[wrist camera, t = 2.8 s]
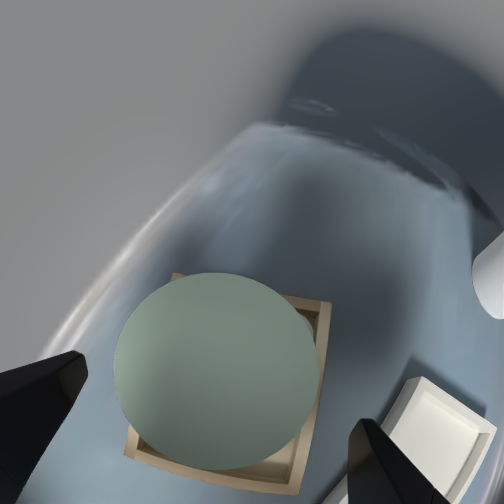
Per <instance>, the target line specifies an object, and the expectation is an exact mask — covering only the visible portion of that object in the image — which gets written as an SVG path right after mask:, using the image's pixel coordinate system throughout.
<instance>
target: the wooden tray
mask: <svg viewBox="0 0 504 504" xmlns="http://www.w3.org/2000/svg"><path fill="white" fill-rule="evenodd" d="M186 276H189V275H184V274H180V273H175V272H173V274H172V277H171V280H170V282H172V281H174V280H176V279H179V278H182V277H186ZM278 294H279V293H278ZM279 295H281V296H282V297H283V298H284V299H286V300H287V301H288V302H289V303H290V304H291V305H292V306H293V307H294V308H295V310H296V311H297V312H298V313H299V314H301V315H303V316H304V317H305V318H306V319H307V320H308V321H309V323H310V324H311V327H312V329H313V341H314V343H315V347H316V351H317V355H318V362H319V385H318V391H317V396H316V399H315V402H314V406H313V408H312V410H311V413H310V415H309V417H308V419H307V421H306V422H305V424H304V425H303V427H302V428H301V430H300V431H299V432H298V433H297V435H296V436H295V437H294V438H293V439H292V440H291V441H290V442H289V443H288V444H287V445H286V446H284V447H283V448H282V449H281V450H280V451H278V452H276V453H275V454H273V455H272V456H270V457H268V458H266V459H264V460H262V461H260V462H257V463H255V464H252V465H249V466H245V467H242V468H236V469H229V470H208V469H200V468H195V467H191V466H188V465H184V464H181V463H179V462H177V461H174V460H172V459H170V458H168V457H166V456H164V455H163V454H161V453H159V452H158V451H156V450H155V449H154V448H153V447H151V446H150V445H149V444H148V443H146V442H145V441H144V440H143V439H142V438H141V437H140V436H139V434H138V433H137V432H136V431H135V430H134V428H133V427H132V426H131V424H130V426H129V430H128V435H127V439H126V444H125V449H124V454H123V455H125V456H127V457H130V458H132V459H135V460H137V461H140V462H143V463H145V464H148V465H151V466H154V467H156V468H159V469H162V470H165V471H168V472H172V473H175V474H178V475H182V476H185V477H189V478H192V479H196V480H200V481H204V482H208V483H213V484H217V485H222V486H227V487H232V488H238V489H243V490H250V491H257V492H264V493H273V494H284V495H298V494H299V491H300V487H301V483H302V479H303V475H304V471H305V467H306V463H307V458H308V454H309V449H310V445H311V440H312V435H313V430H314V425H315V420H316V415H317V409H318V404H319V398H320V392H321V386H322V380H323V373H324V366H325V359H326V352H327V344H328V335H329V327H330V317H331V307H332V303H329V302H324V301H318V300H312V299H306V298H301V297H295V296H289V295H284V294H279Z"/></svg>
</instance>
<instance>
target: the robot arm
mask: <svg viewBox="0 0 504 504" xmlns="http://www.w3.org/2000/svg"><path fill="white" fill-rule="evenodd" d="M87 377H88V369H87V365H86V360H85V356H84V355H83V354H82V353H79V352H77V351H74V350H73V351H69V352H66V353H63V354H60V355H57V356H54V357H51V358H48V359H44V360H41V361H38V362H35V363H32V364H28V365H25V366H22V367H19V368H16V369H12V370H8V371H5V372H2V373H0V504H15V503H16V501H17V499H18V497H19V495H20V493H21V492H22V490H23V489H22V488H24V486H25V484H26V482H27V480H28V479H29V477H30V475H31V473H32V472H33V470H34V468H35V467H36V465H37V463H38V461H39V460H40V458H41V456H42V455H43V453H44V451H45V450H46V448H47V447H48V445H49V443H50V442H51V440H52V439H53V437H54V435H55V434H56V432H57V431H58V429H59V427H60V426H61V424H62V423H63V421H64V420H65V418H66V417H67V415H68V413H69V412H70V410H71V408H72V407H73V405H74V403H75V401H76V399H77V397H78V395H79V393H80V391H81V389H82V387H83V385H84V383H85V381H86V379H87ZM347 489H348V504H451V503H450V502H449V501H448V500H447V499H446V498H445V497H444V496H443V495H442V494H441V493H440V492H439V491H438V490H437V489H436V488H434V486H433V485H432V484H431V482H430V481H429V480H428V479H427V478H426V477H425V476H424V475H423V474H422V473H421V472H420V471H419V469H418V468H417V467H416V466H415V465H414V464H413V463H412V462H411V461H410V460H409V459H408V457H407V456H406V455H405V454H404V453H403V452H402V451H401V450H400V449H399V447H398V446H397V445H396V444H395V443H394V442H393V441H392V440H391V439H390V437H389V436H388V435H387V434H386V433H385V432H384V431H383V430H382V429H381V427H380V426H379V425H378V424H377V423H376V422H375V421H374V420H373V419H365V418H362V419H360V420H359V421H358V422H357V424H356V426H355V427H354V429H353V430H352V432H351V434H350V436H349V445H348V468H347Z"/></svg>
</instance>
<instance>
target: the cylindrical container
mask: <svg viewBox="0 0 504 504" xmlns="http://www.w3.org/2000/svg"><path fill="white" fill-rule="evenodd" d="M472 281H473V285H474V289H475V292H476V295H477V297H478V299H479V301H480V303H481V305H482V306H483V308H484V309H485V310H486V312H487V313H489V314H490V315H491V316H492V317H494V318H496V319H504V231H503V232H502V233H501V234H500V235H499V236H498V237H497V238H496V239H495V240H494V241H493V242H492V243H491V244H490V245H489V246H487V247H486V248H485V249H484V250H483V251H482V252H481V253H480V254H478V255H477V257H476V258H475V259H474V262H473V266H472Z"/></svg>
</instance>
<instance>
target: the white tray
mask: <svg viewBox="0 0 504 504" xmlns="http://www.w3.org/2000/svg"><path fill="white" fill-rule="evenodd" d="M380 427H381V429H382V430H383V431H384V432H385V433H386V434H387V435H388V436H389V437H390V439H391V440H392V441H393V442H394V443H395V444H396V445H397V446H398V447H399V449H400V450H401V451H402V452H403V453H404V454H405V455H406V456H407V457H408V459H409V460H410V461H411V462H412V463H413V464H414V465H415V466H416V467H417V468H418V469H419V471H420V472H421V473H422V474H423V475H424V476H425V477H426V478H427V479H428V480H429V481H430V482H431V484H432V485H433V486H434V488H436V489H437V490H438V491H439V492H440V493H441V494H442V495H443V496H444V497H445V498H446V499H447V500H448V501H449V502H450V503H451V504H458V503H459V501H460V500H461V498H462V497H463V495H464V494H465V492H466V490H467V489H468V487H469V485H470V483H471V482H472V480H473V478H474V476H475V474H476V473H477V471H478V469H479V467H480V465H481V463H482V461H483V459H484V457H485V455H486V453H487V451H488V449H489V446H490V444H491V442H492V440H493V437H494V435H495V433H496V430H497V427H495V426H494V425H492V424H491V423H489V422H488V421H487V420H485V419H484V418H482V417H481V416H479V415H478V414H476V413H475V412H474V411H472V410H471V409H469V408H468V407H466V406H465V405H463V404H462V403H460V402H459V401H458V400H456V399H455V398H453V397H452V396H450V395H449V394H447V393H446V392H445V391H443V390H442V389H440V388H439V387H437V386H436V385H435V384H433V383H432V382H430V381H429V380H427V379H426V378H424V377H423V376H420V377H416V378H412V379H407V380H406V382H405V384H404V386H403V388H402V390H401V392H400V394H399V395H398V397H397V399H396V401H395V403H394V404H393V406H392V408H391V409H390V411H389V413H388V414H387V416H386V418H385V419H384V421H383V423H382V424H381V426H380ZM321 504H348V489H347V474H346V475H345V476H344V478H343V479H342V480H341V481H340V482H339V484H338V485H337V486H336V487H335V488H334V490H333V491H332V492H331V493H330V494H329V495H328V496H327V498H326V499H325V500H324V501H323V502H322V503H321Z"/></svg>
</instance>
